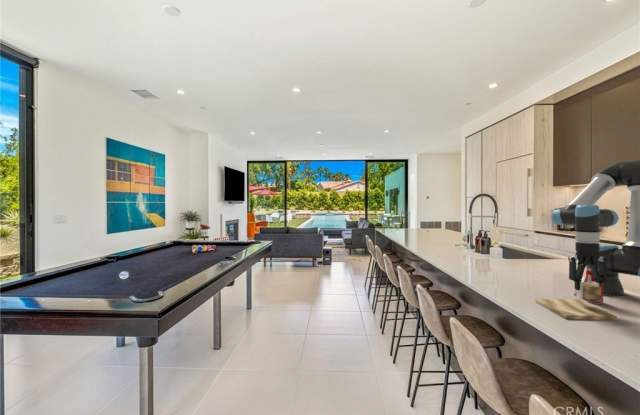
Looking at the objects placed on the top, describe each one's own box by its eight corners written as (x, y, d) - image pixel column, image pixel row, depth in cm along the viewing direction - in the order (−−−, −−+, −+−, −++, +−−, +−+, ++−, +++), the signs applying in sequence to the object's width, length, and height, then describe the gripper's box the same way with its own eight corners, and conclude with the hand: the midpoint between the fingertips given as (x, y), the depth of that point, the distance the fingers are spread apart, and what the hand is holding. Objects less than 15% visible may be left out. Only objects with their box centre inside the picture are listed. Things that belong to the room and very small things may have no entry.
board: (579, 303, 135) (579, 299, 135) (616, 320, 115) (616, 316, 115) (535, 302, 137) (535, 299, 137) (565, 318, 117) (565, 315, 117)
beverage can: (599, 300, 137) (598, 267, 137) (607, 305, 131) (606, 271, 131) (582, 299, 139) (582, 267, 139) (590, 304, 133) (589, 270, 133)
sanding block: (587, 296, 129) (587, 282, 129) (602, 302, 121) (602, 287, 121) (574, 295, 129) (574, 281, 129) (587, 301, 122) (588, 286, 121)
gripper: (604, 241, 128) (604, 295, 128) (557, 241, 130) (557, 294, 130) (619, 243, 120) (620, 301, 120) (569, 243, 122) (569, 300, 123)
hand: (587, 297), depth 125 cm, fingers closed on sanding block, 5 cm apart
